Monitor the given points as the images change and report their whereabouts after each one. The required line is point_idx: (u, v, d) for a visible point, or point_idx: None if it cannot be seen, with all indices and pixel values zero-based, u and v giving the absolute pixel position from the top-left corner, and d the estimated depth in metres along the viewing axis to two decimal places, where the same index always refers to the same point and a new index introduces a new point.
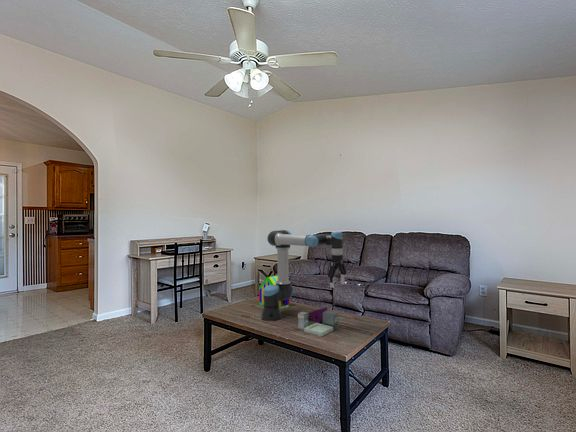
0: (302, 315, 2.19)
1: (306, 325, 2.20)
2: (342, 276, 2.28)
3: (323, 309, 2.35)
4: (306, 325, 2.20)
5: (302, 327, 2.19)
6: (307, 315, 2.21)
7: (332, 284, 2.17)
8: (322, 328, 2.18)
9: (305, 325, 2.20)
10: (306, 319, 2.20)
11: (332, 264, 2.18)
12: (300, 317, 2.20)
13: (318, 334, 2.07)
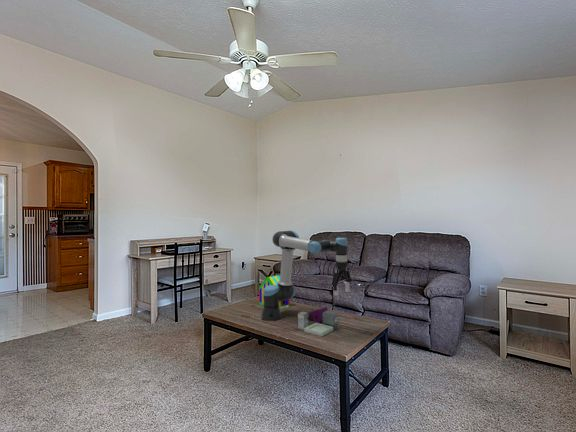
0: (302, 315, 2.19)
1: (306, 325, 2.20)
2: (347, 283, 2.21)
3: (323, 309, 2.35)
4: (306, 325, 2.20)
5: (302, 327, 2.19)
6: (307, 315, 2.21)
7: (336, 292, 2.10)
8: (322, 328, 2.18)
9: (305, 325, 2.20)
10: (306, 319, 2.20)
11: (336, 271, 2.10)
12: (300, 317, 2.20)
13: (318, 334, 2.07)
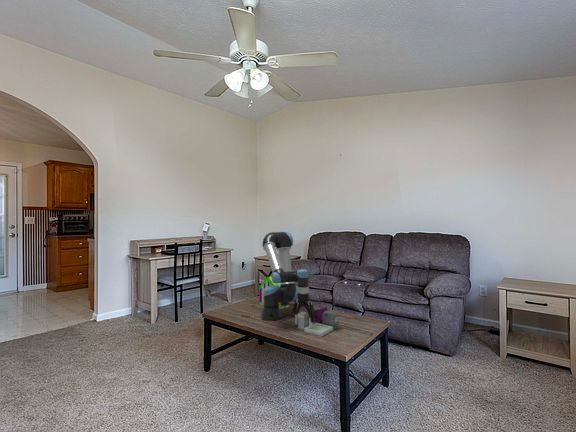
0: (302, 315, 2.19)
1: (306, 325, 2.20)
2: None
3: (323, 309, 2.35)
4: (306, 325, 2.20)
5: (302, 327, 2.19)
6: (307, 315, 2.21)
7: None
8: (322, 328, 2.18)
9: (305, 325, 2.20)
10: (306, 319, 2.20)
11: None
12: (300, 317, 2.20)
13: (318, 334, 2.07)
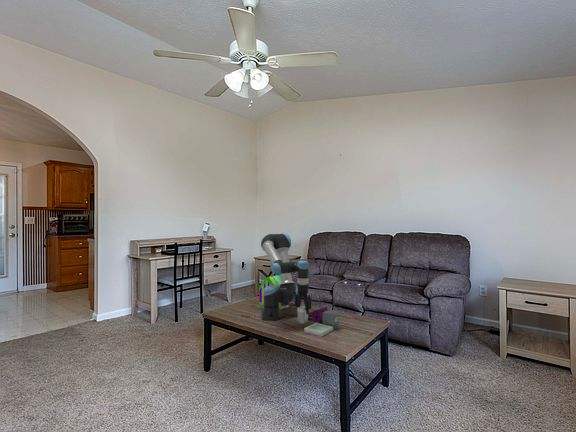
0: (302, 309, 2.19)
1: (305, 319, 2.21)
2: None
3: (323, 309, 2.35)
4: None
5: (301, 321, 2.20)
6: None
7: None
8: (322, 328, 2.18)
9: (304, 319, 2.20)
10: None
11: None
12: (300, 311, 2.20)
13: (318, 334, 2.07)
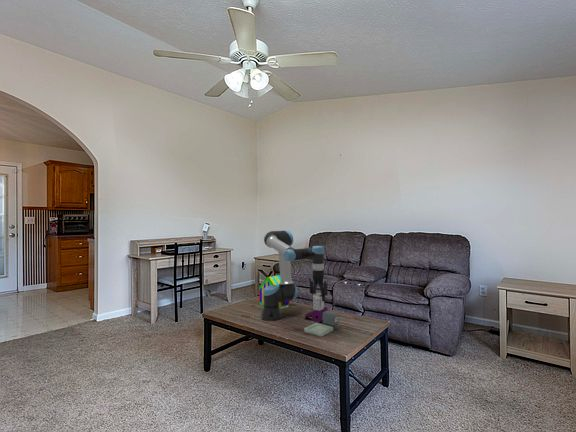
0: (317, 295, 2.12)
1: (321, 306, 2.13)
2: None
3: (323, 309, 2.35)
4: (321, 306, 2.13)
5: (317, 308, 2.12)
6: None
7: None
8: (322, 328, 2.18)
9: (320, 306, 2.13)
10: None
11: None
12: (315, 298, 2.13)
13: (318, 334, 2.07)
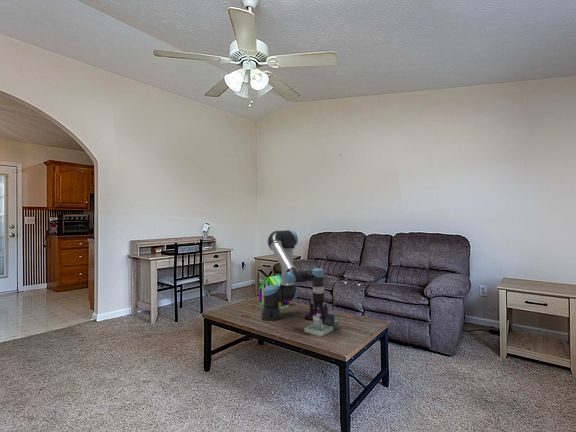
0: (318, 317, 2.12)
1: None
2: None
3: None
4: None
5: (317, 329, 2.12)
6: None
7: None
8: None
9: None
10: None
11: None
12: (315, 319, 2.13)
13: (318, 334, 2.07)
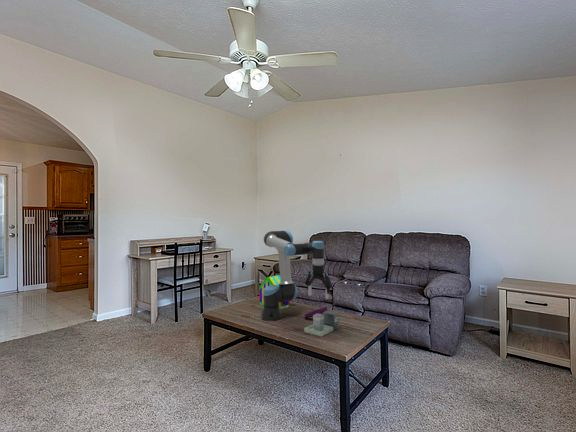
0: (317, 317, 2.12)
1: (322, 327, 2.13)
2: None
3: (323, 309, 2.36)
4: (321, 327, 2.13)
5: (317, 329, 2.12)
6: (322, 317, 2.14)
7: None
8: None
9: (321, 327, 2.13)
10: (321, 321, 2.13)
11: None
12: (315, 319, 2.13)
13: (318, 334, 2.07)
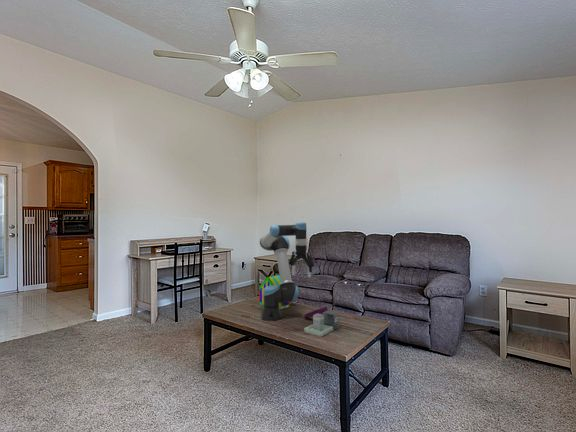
0: (317, 317, 2.12)
1: (322, 327, 2.13)
2: None
3: (323, 309, 2.36)
4: (321, 327, 2.13)
5: (317, 329, 2.12)
6: (322, 317, 2.14)
7: None
8: None
9: (321, 327, 2.13)
10: (321, 321, 2.13)
11: None
12: (315, 319, 2.13)
13: (318, 334, 2.07)
